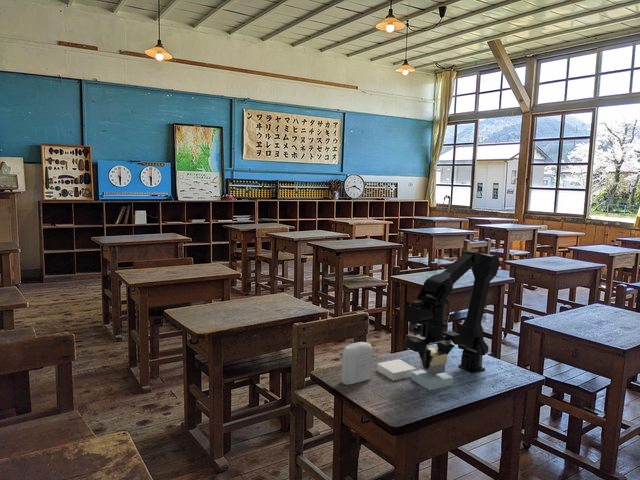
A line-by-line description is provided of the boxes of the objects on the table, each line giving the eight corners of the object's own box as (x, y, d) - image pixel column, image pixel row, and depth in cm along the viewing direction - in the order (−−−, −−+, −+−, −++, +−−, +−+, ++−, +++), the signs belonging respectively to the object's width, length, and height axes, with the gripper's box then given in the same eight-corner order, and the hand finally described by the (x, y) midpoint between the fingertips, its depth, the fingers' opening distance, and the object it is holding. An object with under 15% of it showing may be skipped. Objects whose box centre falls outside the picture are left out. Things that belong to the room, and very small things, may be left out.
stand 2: (433, 374, 159) (433, 367, 158) (452, 385, 151) (452, 377, 150) (411, 379, 154) (411, 371, 154) (429, 390, 147) (430, 382, 146)
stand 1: (398, 366, 165) (399, 359, 165) (415, 375, 157) (415, 368, 157) (377, 370, 161) (377, 363, 161) (393, 380, 153) (393, 373, 153)
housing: (446, 372, 151) (447, 353, 150) (432, 375, 148) (433, 356, 147) (432, 365, 156) (433, 347, 156) (418, 367, 154) (419, 349, 153)
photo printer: (364, 375, 157) (366, 338, 156) (373, 379, 154) (374, 342, 152) (339, 381, 152) (340, 343, 150) (347, 386, 148) (348, 347, 146)
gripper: (440, 309, 161) (438, 354, 163) (394, 315, 153) (393, 363, 155) (464, 318, 152) (461, 365, 154) (417, 325, 143) (415, 375, 145)
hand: (432, 367), depth 152 cm, fingers closed on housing, 5 cm apart
